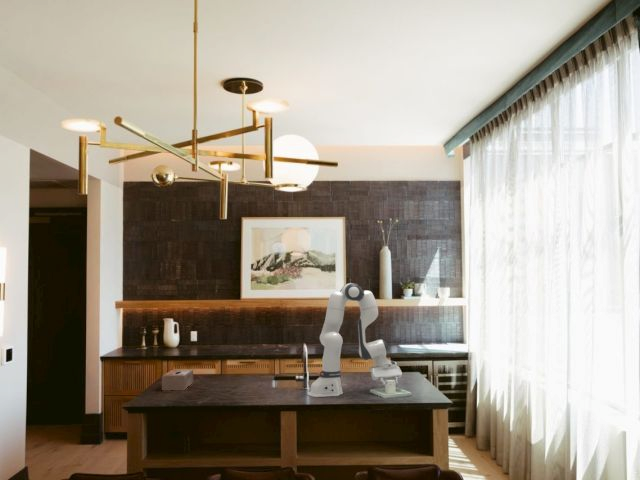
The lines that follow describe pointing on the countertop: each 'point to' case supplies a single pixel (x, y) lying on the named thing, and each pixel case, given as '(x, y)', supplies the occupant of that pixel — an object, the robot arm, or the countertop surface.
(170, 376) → the tissue box cover
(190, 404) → the countertop surface
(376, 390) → the tray
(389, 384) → the caddy
